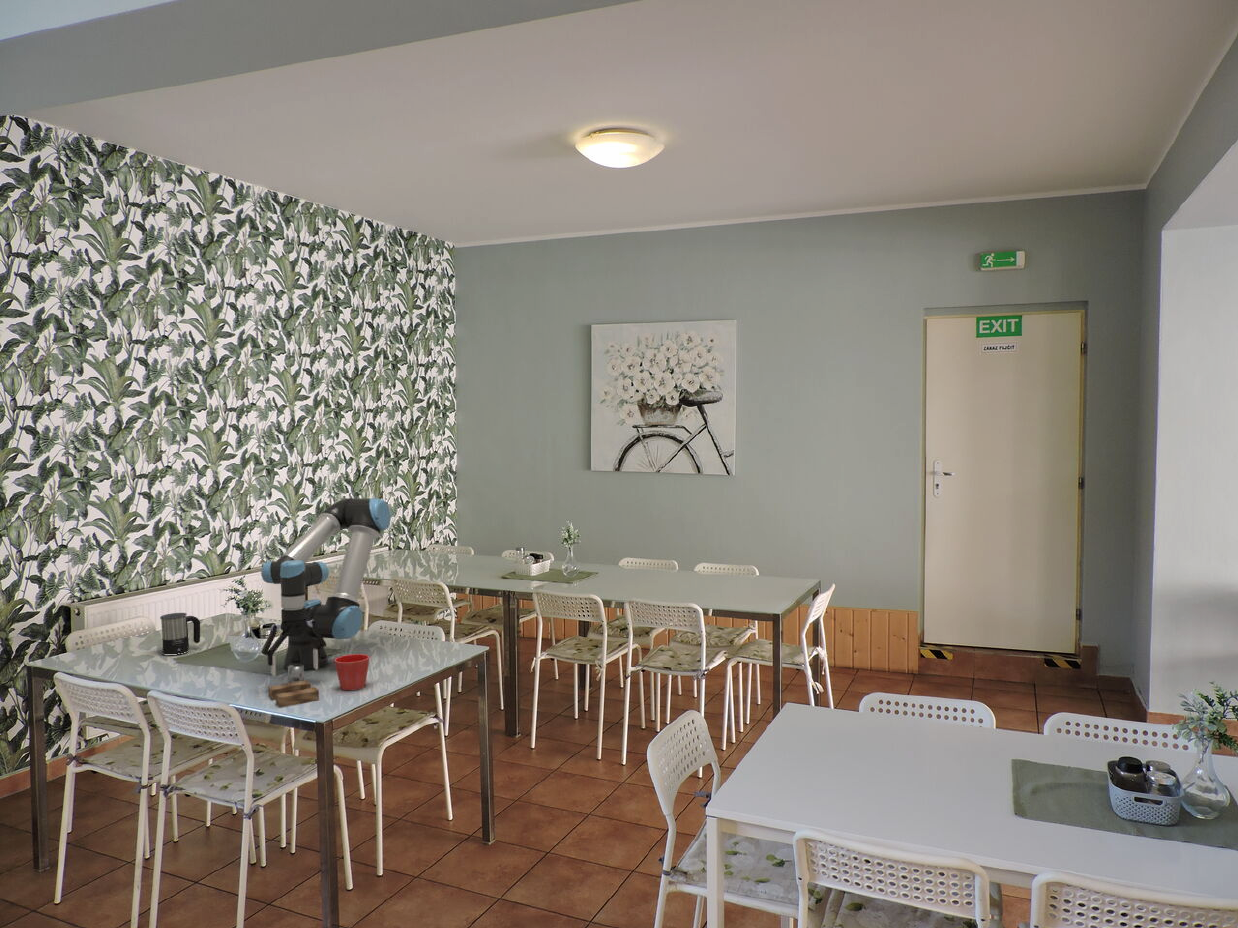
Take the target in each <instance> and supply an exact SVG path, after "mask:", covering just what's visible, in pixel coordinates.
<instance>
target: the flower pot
mask: <svg viewBox="0 0 1238 928" xmlns="http://www.w3.org/2000/svg"><path fill="white" fill-rule="evenodd" d="M369 663H370V656H369V655H367V654H364V653H363V654H360V653H359V654H357V653H356V654H355V653H354V654H345V655H342V656H341V655H340V656H339V657H336V658H335V659H334V665H335V670H336V675H337V678H338V683H339V686H340V689H341V690H343V691H355V690H356V691H357V690H359V689H363V688H365V686H366V682H367V678H368V671H369Z"/></svg>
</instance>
